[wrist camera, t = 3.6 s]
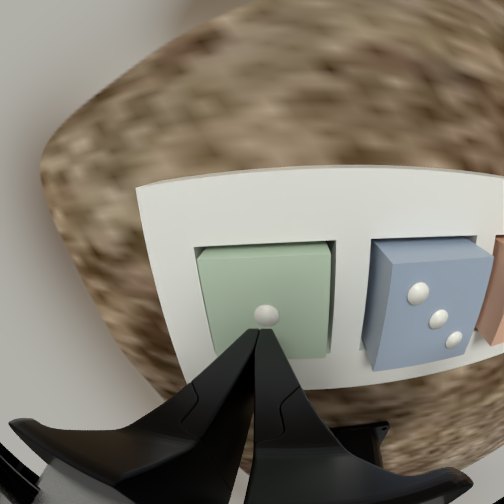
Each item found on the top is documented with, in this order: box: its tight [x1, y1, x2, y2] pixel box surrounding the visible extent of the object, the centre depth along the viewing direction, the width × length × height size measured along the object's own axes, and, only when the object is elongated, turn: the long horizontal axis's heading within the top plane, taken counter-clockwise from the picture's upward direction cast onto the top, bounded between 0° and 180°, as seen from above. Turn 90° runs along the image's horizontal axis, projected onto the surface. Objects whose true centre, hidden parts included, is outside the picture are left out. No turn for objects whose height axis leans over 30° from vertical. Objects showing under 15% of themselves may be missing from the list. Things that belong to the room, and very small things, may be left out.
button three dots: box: [361, 236, 494, 372], centre depth 10 cm, size 5×5×3 cm
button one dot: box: [197, 241, 331, 359], centre depth 12 cm, size 5×5×3 cm
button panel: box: [136, 165, 504, 390], centre depth 11 cm, size 11×24×2 cm, turn 95°
